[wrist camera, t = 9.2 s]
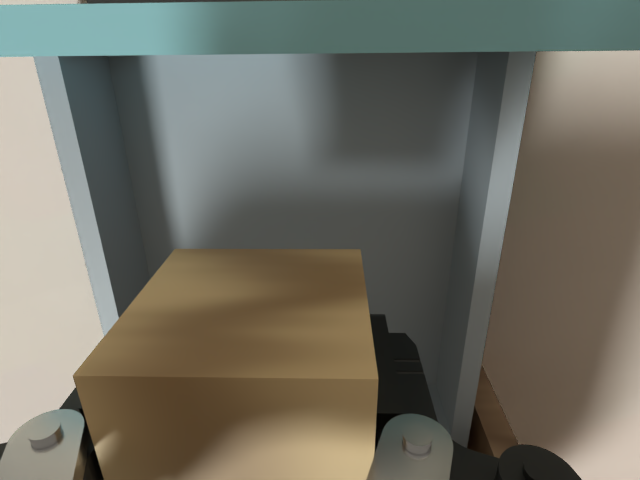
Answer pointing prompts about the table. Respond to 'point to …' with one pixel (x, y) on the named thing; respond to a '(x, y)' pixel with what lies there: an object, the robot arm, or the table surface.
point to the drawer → (307, 142)
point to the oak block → (238, 370)
